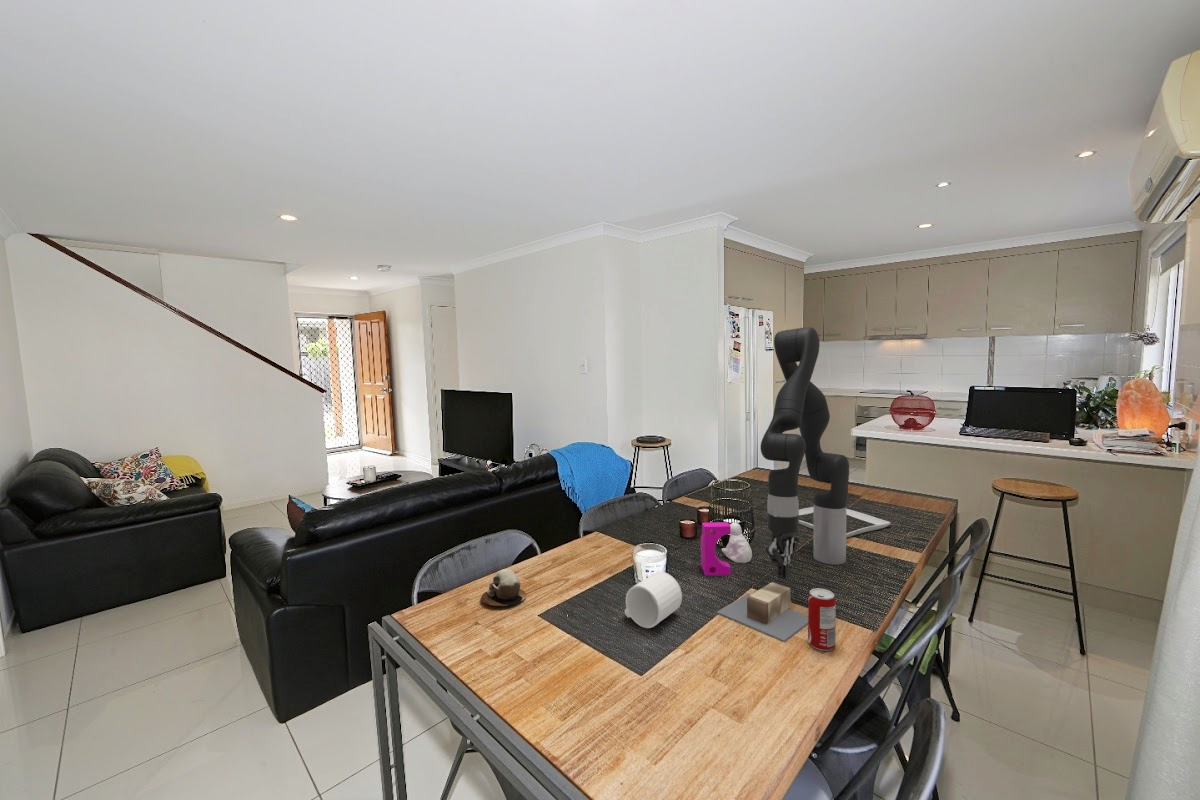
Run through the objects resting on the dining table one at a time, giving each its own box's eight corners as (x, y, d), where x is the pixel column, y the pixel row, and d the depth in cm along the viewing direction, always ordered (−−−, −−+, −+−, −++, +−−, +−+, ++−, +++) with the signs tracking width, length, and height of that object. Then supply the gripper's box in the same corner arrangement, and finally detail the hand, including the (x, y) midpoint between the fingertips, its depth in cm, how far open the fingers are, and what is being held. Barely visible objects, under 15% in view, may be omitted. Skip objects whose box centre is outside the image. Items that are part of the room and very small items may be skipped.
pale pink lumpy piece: (745, 567, 151) (745, 529, 151) (720, 560, 158) (720, 523, 157) (755, 561, 156) (755, 524, 155) (731, 554, 162) (731, 518, 161)
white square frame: (779, 522, 193) (779, 513, 193) (829, 512, 205) (829, 502, 204) (839, 545, 169) (839, 533, 168) (892, 531, 180) (892, 521, 180)
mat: (747, 595, 134) (747, 593, 134) (813, 619, 120) (813, 618, 120) (716, 613, 125) (716, 611, 125) (784, 642, 111) (784, 640, 111)
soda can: (812, 635, 114) (812, 584, 113) (838, 643, 110) (838, 590, 109) (804, 646, 109) (804, 593, 109) (831, 655, 106) (831, 600, 105)
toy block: (701, 568, 152) (725, 567, 152) (705, 577, 146) (730, 576, 146) (700, 520, 151) (725, 519, 151) (704, 526, 145) (730, 526, 144)
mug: (669, 565, 125) (645, 579, 117) (689, 603, 122) (667, 620, 114) (636, 582, 132) (612, 597, 125) (655, 619, 129) (631, 636, 122)
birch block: (772, 581, 129) (747, 597, 121) (790, 587, 126) (765, 604, 118) (772, 600, 130) (747, 617, 122) (790, 607, 126) (765, 624, 118)
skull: (468, 597, 134) (487, 561, 140) (493, 613, 140) (510, 579, 145) (496, 605, 126) (515, 568, 132) (521, 622, 132) (538, 586, 138)
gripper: (782, 503, 134) (782, 566, 135) (755, 514, 125) (755, 581, 126) (809, 508, 128) (809, 574, 129) (783, 520, 119) (783, 590, 121)
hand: (782, 577), depth 128 cm, fingers closed
